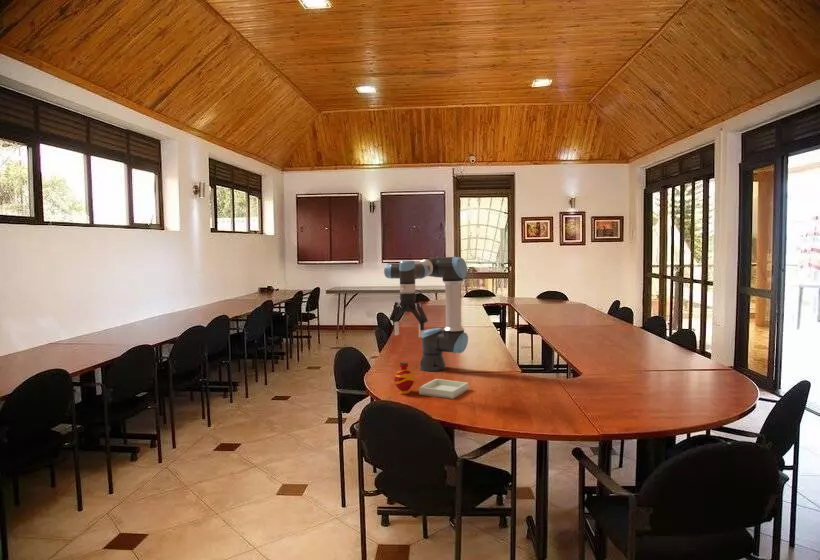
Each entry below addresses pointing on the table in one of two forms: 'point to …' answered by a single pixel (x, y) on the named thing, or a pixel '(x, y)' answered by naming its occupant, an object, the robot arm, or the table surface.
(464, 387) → the bin
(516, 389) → the table surface
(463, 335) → the robot arm
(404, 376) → the potion bottle
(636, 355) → the table surface
